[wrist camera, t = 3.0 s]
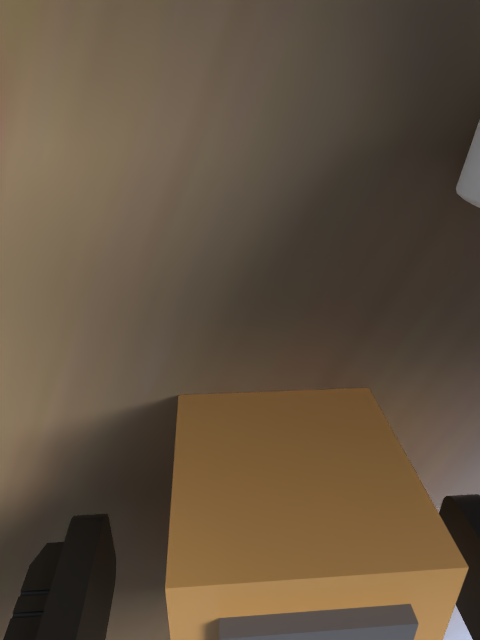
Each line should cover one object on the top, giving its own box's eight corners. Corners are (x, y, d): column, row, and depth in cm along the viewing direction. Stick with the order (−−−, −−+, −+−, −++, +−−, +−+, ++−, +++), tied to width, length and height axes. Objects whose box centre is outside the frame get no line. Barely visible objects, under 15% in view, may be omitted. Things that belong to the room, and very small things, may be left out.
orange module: (178, 392, 11) (163, 609, 6) (367, 384, 11) (479, 587, 7) (189, 560, 13) (184, 794, 9) (340, 550, 14) (407, 772, 9)
